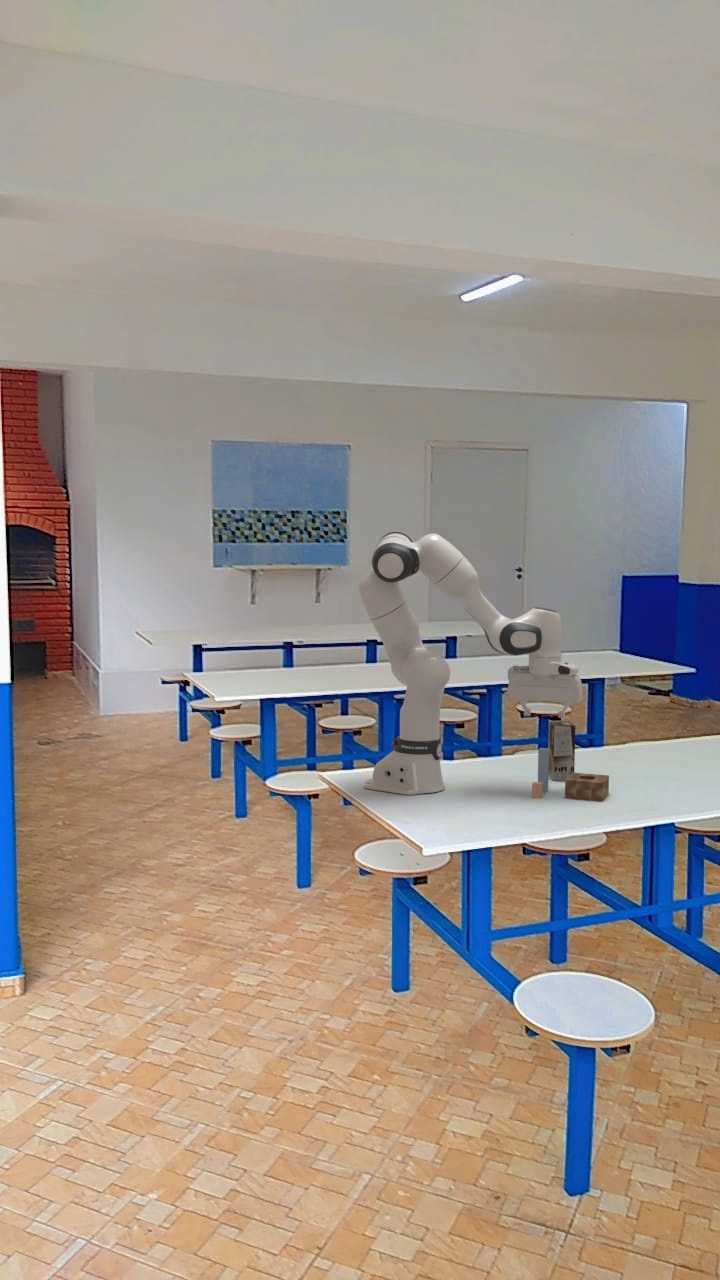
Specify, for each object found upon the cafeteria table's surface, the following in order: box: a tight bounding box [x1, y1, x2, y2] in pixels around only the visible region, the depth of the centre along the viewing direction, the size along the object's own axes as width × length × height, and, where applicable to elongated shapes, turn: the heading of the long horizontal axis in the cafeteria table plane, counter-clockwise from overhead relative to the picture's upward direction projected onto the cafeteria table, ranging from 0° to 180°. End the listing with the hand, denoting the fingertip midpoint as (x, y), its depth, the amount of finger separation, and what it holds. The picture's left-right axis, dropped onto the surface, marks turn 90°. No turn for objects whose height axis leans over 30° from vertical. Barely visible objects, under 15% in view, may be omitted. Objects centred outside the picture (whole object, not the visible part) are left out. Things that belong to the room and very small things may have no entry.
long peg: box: [537, 747, 550, 794], centre depth 277 cm, size 2×2×12 cm
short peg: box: [531, 781, 544, 800], centre depth 271 cm, size 2×2×4 cm
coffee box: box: [548, 721, 576, 782], centre depth 295 cm, size 9×6×16 cm
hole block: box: [564, 772, 610, 803], centre depth 273 cm, size 10×10×5 cm
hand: (544, 716), depth 276 cm, fingers open, 8 cm apart
